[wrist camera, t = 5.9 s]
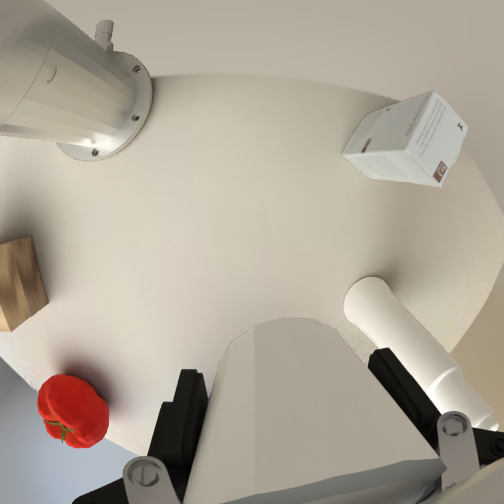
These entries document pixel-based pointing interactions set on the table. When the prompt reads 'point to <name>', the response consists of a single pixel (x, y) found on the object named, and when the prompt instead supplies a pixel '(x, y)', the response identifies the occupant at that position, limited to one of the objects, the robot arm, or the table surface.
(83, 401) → the tomato
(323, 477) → the white cup
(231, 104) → the table surface
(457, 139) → the skincare box
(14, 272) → the tower top block
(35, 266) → the tower base block
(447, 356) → the cosmetic bottle
